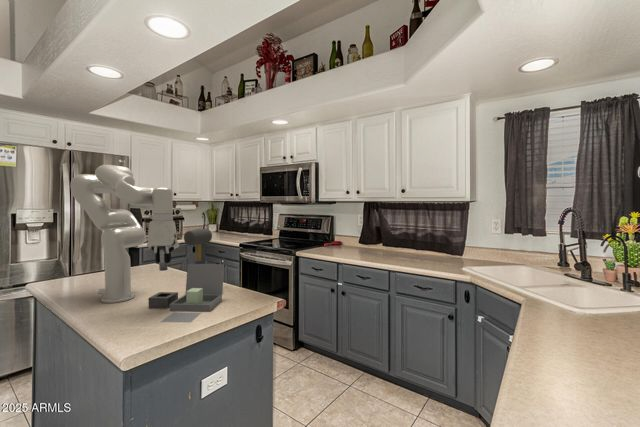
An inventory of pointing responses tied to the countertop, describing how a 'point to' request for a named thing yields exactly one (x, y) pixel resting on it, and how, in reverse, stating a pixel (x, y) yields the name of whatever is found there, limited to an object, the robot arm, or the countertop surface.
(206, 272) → the lid
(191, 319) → the mat
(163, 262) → the rod
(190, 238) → the rubber mallet
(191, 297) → the block
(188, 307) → the case
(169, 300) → the square socket block
